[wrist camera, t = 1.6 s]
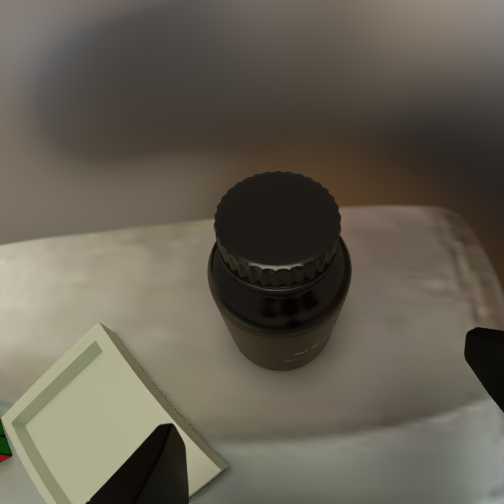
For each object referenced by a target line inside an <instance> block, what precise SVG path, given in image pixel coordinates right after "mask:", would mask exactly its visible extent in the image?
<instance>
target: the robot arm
mask: <svg viewBox="0 0 504 504" xmlns="http://www.w3.org/2000/svg"><path fill="white" fill-rule="evenodd" d="M464 356H465V359H466V361H467V363H468V364H469V366H470V367H471V369H472V370H473V371H474V373H475V374H476V376H477V377H478V379H479V380H480V382H481V383H482V385H483V387H484V388H485V389H486V391H487V392H488V394H489V395H490V396H491V397H492V399H493V400H494V401H495V402H496V404H497V405H498V406H499V407H500V409H501V410H502V411H503V412H504V331H502V330H495V329H488V328H481V327H476V328H474V329H472V330H470V331H468V332H467V334H466V340H465V350H464ZM85 504H189V485H188V473H187V459H186V447H185V443H184V441H183V439H182V437H181V435H180V434H179V432H178V430H177V428H176V426H175V425H174V424H173V423H166V424H160V425H158V426H157V427H156V428H155V429H154V430H153V432H152V433H151V434H150V435H149V436H148V437H147V438H146V439H145V440H144V442H143V443H142V444H141V445H140V446H139V447H138V448H137V449H136V450H135V451H134V453H133V454H132V455H131V456H130V457H129V458H128V459H127V460H126V461H125V462H124V463H123V464H122V466H121V467H120V468H119V469H118V470H117V471H116V472H115V473H114V474H113V475H112V476H111V477H110V478H109V479H108V480H107V481H106V483H105V484H104V485H103V486H102V487H101V488H100V489H99V490H98V491H97V492H96V493H95V494H94V495H93V496H92V497H91V498H90V501H87V502H86V503H85Z"/></svg>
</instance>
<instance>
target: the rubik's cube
mask: <svg viewBox="0 0 504 504" xmlns="http://www.w3.org/2000/svg"><path fill="white" fill-rule="evenodd" d="M11 456H12V453H11V450H10V447H9V445H8V442H7V439H6V436H5V433H4V430H3V427H2V423H1V420H0V462H1V461H3V460H5V459H7V458H9V457H11Z"/></svg>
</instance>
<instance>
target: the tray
mask: <svg viewBox="0 0 504 504" xmlns="http://www.w3.org/2000/svg"><path fill="white" fill-rule="evenodd" d="M1 419H2V422H3V424H4V426H5V429H6V431H7V433H8V435H9V437H10V439H11V442H12V444H13V446H14V448H15V450H16V452H17V454H18V456H19V457H20V459H21V461H22V463H23V465H24V467H25V469H26V470H27V472H28V474H29V476H30V477H31V479H32V481H33V483H34V484H35V486H36V488H37V489H38V491H39V492H40V494H41V496H42V497H43V499H44V500H45V502H46V503H47V504H85V503H86V502H87V501H90V498H91V497H92V496H93V495H94V494H95V493H96V492H97V491H98V490H99V489H100V488H101V487H102V486H103V485H104V484H105V483H106V481H107V480H108V479H109V478H110V477H111V476H112V475H113V474H114V473H115V472H116V471H117V470H118V469H119V468H120V467H121V466H122V464H123V463H124V462H125V461H126V460H127V459H128V458H129V457H130V456H131V455H132V454H133V453H134V451H135V450H136V449H137V448H138V447H139V446H140V445H141V444H142V443H143V442H144V440H145V439H146V438H147V437H148V436H149V435H150V434H151V433H152V432H153V430H154V429H155V428H156V427H157V426H158V425H160V424H166V423H173V424H174V425H175V426H176V428H177V430H178V432H179V434H180V435H181V437H182V439H183V441H184V443H185V447H186V459H187V473H188V485H189V498H190V497H191V496H192V495H194V494H195V493H196V492H198V491H199V490H200V489H201V488H203V487H204V486H205V485H207V484H208V483H209V482H210V481H212V480H213V479H214V478H215V477H216V476H218V475H219V474H220V473H221V472H223V471H224V470H225V469H226V468H227V467H229V465H228V464H227V463H226V462H225V461H224V460H223V459H222V458H221V457H219V456H218V455H217V454H216V453H215V452H214V451H213V450H212V449H211V448H210V447H209V446H208V445H207V443H206V442H205V441H204V440H203V439H202V438H201V437H200V436H199V435H198V434H197V433H196V432H195V431H194V430H193V429H192V428H191V427H190V426H189V424H188V423H187V422H186V421H185V420H184V419H183V418H182V417H181V416H180V415H179V413H178V412H177V411H176V410H175V409H174V408H173V407H172V405H171V404H170V403H169V402H168V401H167V400H166V398H165V397H164V396H163V395H162V394H161V393H160V391H159V390H158V389H157V388H156V386H155V385H154V384H153V383H152V382H151V380H150V379H149V378H148V377H147V375H146V374H145V373H144V371H143V370H142V369H141V368H140V366H139V365H138V364H137V362H136V361H135V360H134V359H133V357H132V356H131V355H130V353H129V352H128V350H127V349H126V348H125V346H124V345H123V344H122V342H121V341H120V339H119V338H118V337H117V335H116V334H115V333H114V332H113V331H111V330H110V329H109V328H107V327H106V326H104V325H103V324H101V323H100V322H98V323H97V324H96V325H94V326H93V327H92V328H91V329H90V330H89V331H88V332H87V333H86V334H85V335H84V336H83V337H82V338H81V339H80V340H79V341H77V342H76V343H75V344H74V345H73V346H72V347H71V348H70V349H69V350H68V351H67V352H66V353H65V354H64V355H63V356H62V357H61V358H60V359H59V360H58V361H57V362H56V363H55V364H54V365H53V366H52V367H51V368H50V369H49V370H48V371H47V372H46V373H45V374H44V375H43V376H42V377H41V378H40V379H39V380H38V381H37V382H36V383H35V384H34V385H33V386H32V387H31V388H30V389H29V390H28V391H27V392H26V393H25V394H24V395H23V396H22V397H21V398H20V399H19V400H18V401H17V402H16V403H15V404H14V405H13V406H12V407H11V408H10V409H9V410H8V411H7V412H6V413H5V415H4V416H3V417H2V418H1Z"/></svg>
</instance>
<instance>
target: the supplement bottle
mask: <svg viewBox="0 0 504 504" xmlns="http://www.w3.org/2000/svg"><path fill="white" fill-rule="evenodd" d="M338 211H339V207H338V205H337V204H336V203H335V200H334V197H333V196H331V195H330V194H329V191H328V190H327V189H326V188H324V187H322V185H321V184H320V183H318V182H315V181H313V180H312V179H311V178H309V177H304V176H303V175H301V174H294V173H291V172H281V171H276V172H265V173H263V174H256V175H254V176H253V177H248V178H246V179H244V180H243V181H242V182H239V183H237V184H236V185H235V186H234V187H233V188H231V189H229V190H228V192H227V194H226V195H224V196H223V197H222V199H221V202H220V203H219V205H218V206H217V212H216V214H215V215H214V219H215V223H214V230H215V234H216V242H215V244H214V246H213V248H212V250H211V253H210V256H209V261H208V269H207V274H208V283H209V287H210V291H211V294H212V296H213V299H214V301H215V303H216V305H217V307H218V309H219V311H220V313H221V315H222V317H223V319H224V321H225V323H226V325H227V327H228V329H229V331H230V333H231V335H232V337H233V339H234V341H235V343H236V344H237V346H238V348H239V349H240V350H241V352H242V353H243V354H244V355H245V356H246V357H247V358H248V359H250V360H251V361H252V362H254V363H255V364H257V365H259V366H262V367H264V368H268V369H273V370H288V369H293V368H297V367H300V366H302V365H304V364H306V363H308V362H309V361H311V360H312V359H314V358H315V357H316V356H317V355H318V354H319V353H320V352H321V350H322V349H323V348H324V346H325V344H326V343H327V341H328V339H329V337H330V334H331V332H332V330H333V328H334V325H335V323H336V320H337V318H338V316H339V313H340V311H341V309H342V306H343V304H344V301H345V299H346V296H347V293H348V290H349V287H350V282H351V274H352V266H351V259H350V255H349V251H348V249H347V246H346V244H345V242H344V240H343V239H342V237H341V236H340V232H341V225H340V222H341V215H340V213H339V212H338Z"/></svg>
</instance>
